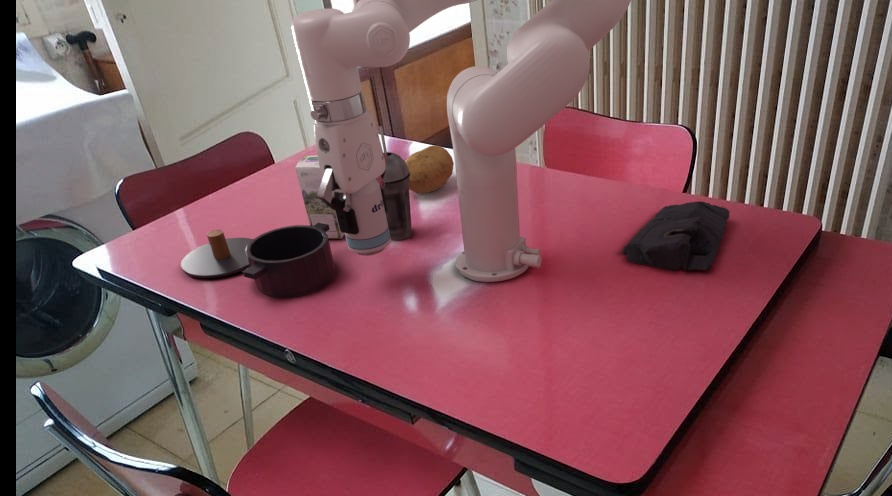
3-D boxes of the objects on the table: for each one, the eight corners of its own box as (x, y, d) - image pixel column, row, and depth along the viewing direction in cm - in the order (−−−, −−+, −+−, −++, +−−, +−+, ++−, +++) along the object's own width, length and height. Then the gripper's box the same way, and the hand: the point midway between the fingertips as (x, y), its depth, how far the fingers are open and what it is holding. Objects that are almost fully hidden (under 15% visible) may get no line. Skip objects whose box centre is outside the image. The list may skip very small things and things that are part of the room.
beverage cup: (382, 246, 126) (362, 138, 114) (377, 230, 131) (358, 125, 119) (422, 239, 127) (406, 131, 115) (415, 223, 133) (399, 118, 121)
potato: (390, 199, 143) (384, 162, 138) (427, 175, 152) (423, 139, 148) (429, 206, 139) (424, 168, 134) (465, 180, 148) (461, 144, 143)
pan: (360, 259, 122) (353, 225, 118) (289, 312, 109) (279, 276, 105) (302, 247, 128) (293, 214, 124) (228, 297, 115) (216, 261, 111)
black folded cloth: (742, 222, 124) (746, 197, 121) (705, 278, 109) (709, 251, 106) (660, 209, 130) (662, 185, 128) (615, 260, 116) (616, 234, 113)
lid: (281, 249, 127) (273, 222, 124) (224, 287, 117) (213, 258, 114) (224, 237, 133) (215, 211, 130) (165, 272, 123) (154, 244, 120)
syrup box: (350, 226, 134) (334, 153, 125) (341, 240, 129) (325, 165, 120) (321, 226, 134) (304, 154, 126) (312, 240, 130) (293, 166, 121)
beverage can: (386, 258, 108) (370, 185, 101) (344, 259, 109) (325, 187, 102) (396, 237, 113) (382, 167, 106) (356, 239, 114) (339, 169, 107)
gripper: (320, 129, 90) (350, 250, 101) (394, 90, 102) (414, 202, 113) (277, 125, 93) (310, 243, 104) (354, 87, 105) (377, 197, 116)
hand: (364, 221), depth 108 cm, fingers closed on beverage can, 7 cm apart
